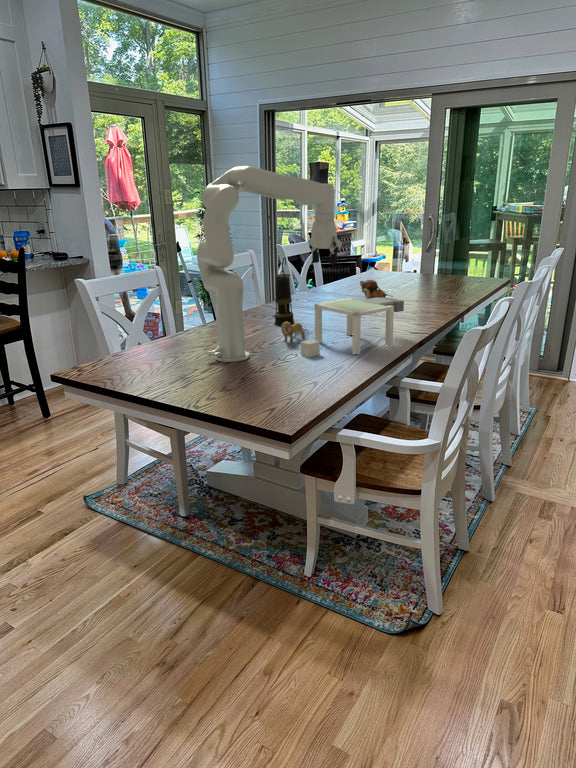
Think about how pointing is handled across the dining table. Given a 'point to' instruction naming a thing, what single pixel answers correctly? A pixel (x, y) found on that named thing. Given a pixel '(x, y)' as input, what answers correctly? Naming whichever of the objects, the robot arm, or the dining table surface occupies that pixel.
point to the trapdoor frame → (354, 322)
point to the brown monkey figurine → (372, 289)
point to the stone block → (310, 348)
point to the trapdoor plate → (368, 304)
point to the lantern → (283, 298)
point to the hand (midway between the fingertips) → (324, 263)
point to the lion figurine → (291, 330)
